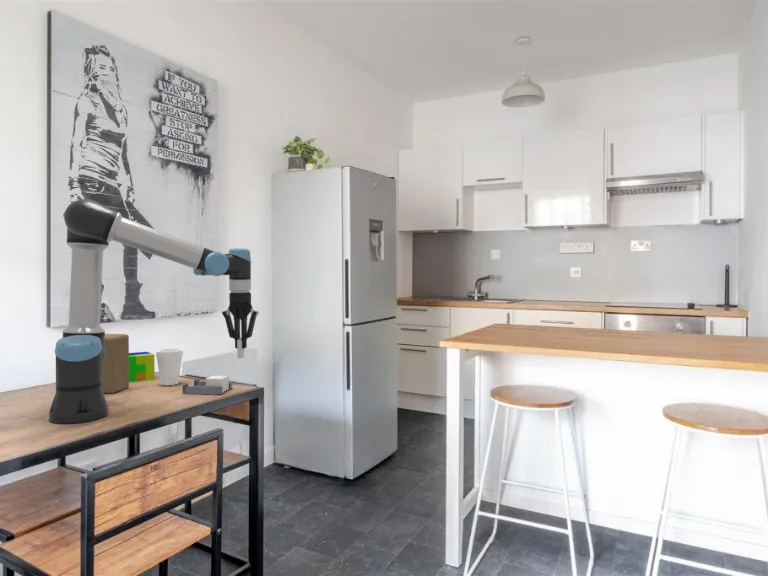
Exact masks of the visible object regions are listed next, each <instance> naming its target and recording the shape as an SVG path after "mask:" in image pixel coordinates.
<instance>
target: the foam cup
mask: <svg viewBox="0 0 768 576" xmlns="http://www.w3.org/2000/svg"><path fill="white" fill-rule="evenodd" d="M183 352H184V351H183V349H182V348H161V349H157V350H156V351H155V354H156V355H155V357H156V360H157V367H158V375H159V381H160V382H159V383H160V386H162V385H173V386H176V385H175V384H177V385H179V382H180V375H181V368H182V361H183V356H184V355H183V354H184V353H183Z"/></svg>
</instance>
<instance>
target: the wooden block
mask: <svg viewBox="0 0 768 576" xmlns="http://www.w3.org/2000/svg"><path fill="white" fill-rule="evenodd" d="M129 339H130V338H129V334H127V333H105V340H104V346H105V347H104V348H105V357H104V359H103V361H102V364H101V380H102V381H101V385H102V391H103V394H114V393H117V392H120V391H122V390H125V389H128V388H129V385H130V382H129V353H130V351H129V350H130V344H129V343H130V341H129Z"/></svg>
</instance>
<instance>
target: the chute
mask: <svg viewBox="0 0 768 576" xmlns="http://www.w3.org/2000/svg"><path fill="white" fill-rule="evenodd" d="M181 386H182V393H187V394H186V395H203V394H222V393H223V394H224V392H223V387H211V386H206V380H200V378H195V379H193V385H189V383H183V384H182V385H181ZM231 388H232V389H233V381H229V389H231ZM232 389H231V390H232ZM188 393H189V394H188ZM223 394H222V395H223Z"/></svg>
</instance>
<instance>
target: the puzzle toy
mask: <svg viewBox="0 0 768 576" xmlns="http://www.w3.org/2000/svg"><path fill="white" fill-rule="evenodd" d="M149 379H153V380H155V354H154V353H152V352H149V351H139V352H129V383H136V382H143V381H142V380H145V381H150V380H149ZM135 381H136V382H135Z"/></svg>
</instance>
